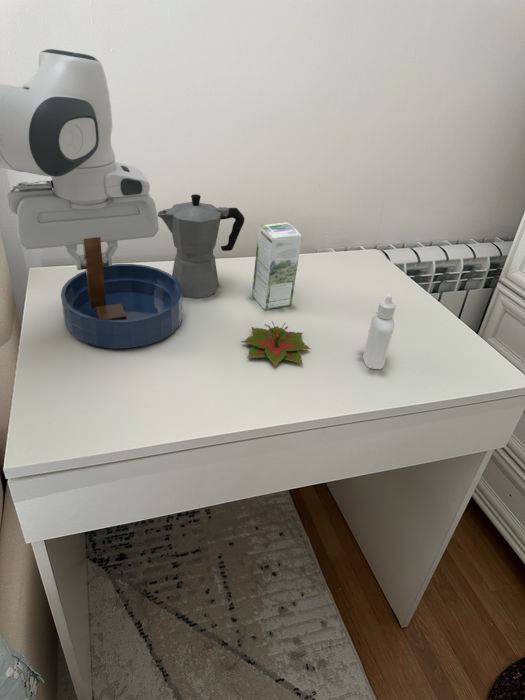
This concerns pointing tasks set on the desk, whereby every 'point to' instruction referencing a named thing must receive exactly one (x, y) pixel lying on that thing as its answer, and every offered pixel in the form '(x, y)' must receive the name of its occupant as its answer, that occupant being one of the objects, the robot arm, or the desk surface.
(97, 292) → the stick
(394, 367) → the desk surface
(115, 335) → the bowl
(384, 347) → the eye dropper bottle
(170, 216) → the coffeepot
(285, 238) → the syrup box
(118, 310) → the block
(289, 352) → the lily flower
